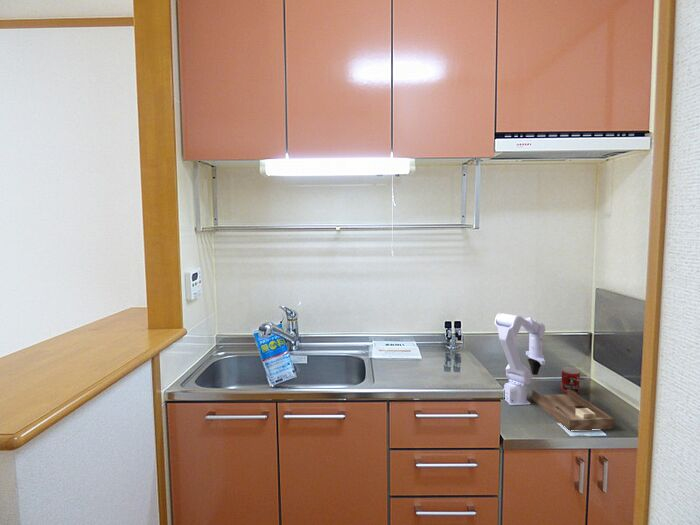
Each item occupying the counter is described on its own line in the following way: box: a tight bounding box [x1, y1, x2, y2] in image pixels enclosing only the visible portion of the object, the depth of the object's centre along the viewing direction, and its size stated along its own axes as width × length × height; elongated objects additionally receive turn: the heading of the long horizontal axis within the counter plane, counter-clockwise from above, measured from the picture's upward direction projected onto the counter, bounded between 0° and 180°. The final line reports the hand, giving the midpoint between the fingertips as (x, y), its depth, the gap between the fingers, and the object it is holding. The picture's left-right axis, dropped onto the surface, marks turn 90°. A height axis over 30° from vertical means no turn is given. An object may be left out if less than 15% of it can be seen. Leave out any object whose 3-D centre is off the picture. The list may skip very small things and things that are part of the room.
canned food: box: [560, 366, 581, 395], centre depth 194 cm, size 8×8×11 cm
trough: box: [531, 389, 615, 431], centre depth 172 cm, size 18×29×4 cm, turn 4°
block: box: [575, 408, 596, 419], centre depth 162 cm, size 5×5×4 cm
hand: (534, 374), depth 193 cm, fingers closed
